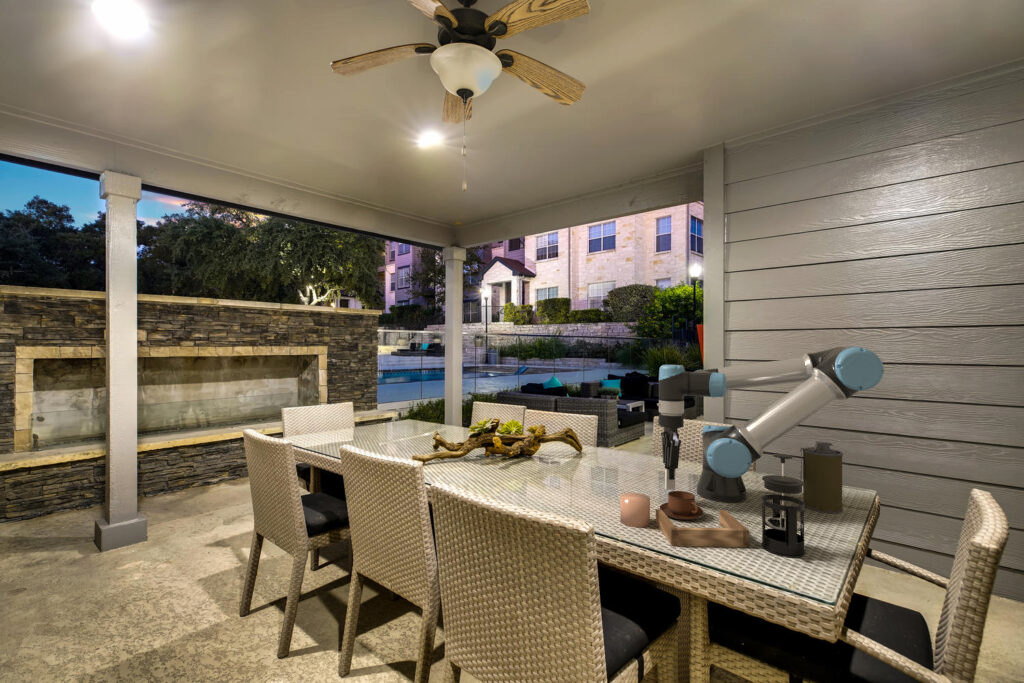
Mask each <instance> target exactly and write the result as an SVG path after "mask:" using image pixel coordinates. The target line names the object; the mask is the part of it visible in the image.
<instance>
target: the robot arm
mask: <svg viewBox="0 0 1024 683" xmlns="http://www.w3.org/2000/svg"><path fill="white" fill-rule="evenodd" d="M884 371H885V368H884V363H883V361H882V359H881V357H880V356H879V355H878V354H876V353H875V352H874V351H873V350H870V349H868V348H865V347H862V346H850V347H847V346H839V347H834V348H829V349H825V350H820V351H817V352H811V353H804V354H803V355H802V357H798V358H797V357H796V358H788V359H781V360H773V361H765V362H756V363H750V364H749V363H748V364H742V365H734V366H733V365H732V366H731V365H730V366H724V367H717V368H708V369H697V370H695V371H693V372H692V371H686V370H685V367H684V366H683V365H681V364H680V365H679V364H662V365H661V366H660V367H659V371H658V403H656V405H657V407H658V413H659V414H658V426H660V427H662V428H663V431H662V432H661V433H660V436H661V446H662V463H663V464H664V471H665V472H664V489H665V490H668V491H669V490H670V491H671V490H672V491H676V469H679V461H680V452H681V451H680V450H681V445H682V444H681V443H682V440H681V439H680V434H679V431H678V430H679V429H681V428H683V427H684V422H685V421H684V420H685V419H684V418H685V417H684V415H683V414H684V413H685V397H689V396H693V397H707V398H708V397H709V398H723V397H725V396H726V393H727V391H729V390H738V389H739V390H740V389H749V388H759V387H766V386H767V387H768V386H769V387H770V386H774V385H775V386H778V385H786V384H796V383H800V384H799V385H797V386H796V387H795V388H793V389H792V390H790V391H789V392H788V393H786V394H784V395H783V396H782V397H780V398H779V399H777V400H776V401H775V402H773V403H771V405H769V406H767V407H766V408H765V409H763V410H762V411H760V412H759V413H757V414H756V415H755V416H754V417H751V418H750V419H749V420H747V421H746V422H745V423H743V424H736V423H734V424H733V425H731V426H730V425H715V424H713V425H712V424H711V425H708V424H706V425H704V426H702V432H701V435H702V468H701V469H702V470H701V474H700V476H699V478H698V481H697V485H696V493H697V495H698V496H699V497H702V498H705V499H707V500H711V501H716V502H722V503H740V502H745V501H746V500H747V496H748V494H747V489H746V486H745V482H744V480H743V477H742V476H743V475H745V474H746V473H748V471H749V470H750V468H751V465H752V464H753V463H754V462H756V461H757V460H759V459H761V458H762V457H763V453H764V452H763V451H764V449H765V448H767V447H768V446H770V445H771V444H773V443H774V442H775V441H777V440H778V439H780V438H781V437H783V436H784V435H786V434H787V433H788V432H790V431H792V430H793V429H794V428H796V427H798V426H799V425H800V424H802V423H804V422H806V420H808V419H809V418H811V417H812V416H814V415H815V414H817V413H819V412H820V411H821V410H824V408H826V407H827V406H828V405H830V404H832V403H833V402H834V401H844V402H845V401H846V400H848V399H850V398H851V397H853V396H854V395H856V394H857V393H859V392H863V391H866V390H867V391H868V390H870V389H873V388H874V387H876V386H877V385H878V384H879V383H881V381H882V379H883V377H884Z"/></svg>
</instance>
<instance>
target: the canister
mask: <svg viewBox="0 0 1024 683" xmlns="http://www.w3.org/2000/svg"><path fill="white" fill-rule="evenodd" d="M832 446H834V444H833V443H831V442H830V441H829V442H828V441H820V440H818V441H817V440H816V441H815V443H814V446H813V447H811V446H810V447H800V451H802V454H803V455H802V458H803V459H802V461H803V462H802V472H800V480H802V481H803V482H804V485H803V486H802V496H803V497H802V501H803V502H804V508H806V509H809V510H811V511H813V512H814V511H815V512H818V513H825V514H841V513H843V512H844V509H843V456H844V453H843V452H842V451H839V450H837V449H832V448H831V447H832ZM802 473H803V474H802ZM802 475H803V476H802Z"/></svg>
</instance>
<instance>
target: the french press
mask: <svg viewBox="0 0 1024 683" xmlns="http://www.w3.org/2000/svg"><path fill="white" fill-rule="evenodd" d="M772 457H774V458H778V459H780V464H781V475H779V474H778V475H777V474H769V475H767V474H766V475H763V476H762V477H761V480H762V481H764V482H763V483H764V484H763V487H764V489H766V490H769V491H770V492H775V493H777V494H773V493H772V494H765V495H763V496H761V497H762V498H761V499H762V500H761V502H762V504H761V506H762V507H761V510H762V512H761V518H762V519H761V525H762V526H761V530H762V532H761V533H762V534H761V536H762V537H761V540H762V541H761V543H760V545H761V548H762V549H763V550H764V551H766V552H768V553H770V554H772V555H776V556H779V557H784V558H792V559H795V558H796V559H797V558H798V559H799V558H802V557H804V556H806V549H805V507H804V502H803V499H799V498H796V497H793V496H789V495H799V494H801V493H802V494H803V485H804V482H803V479H802V480H801V479H799V478H796V477H792V476H787V475H786V476H785V474H784V473H785V472H784V470H785V469H784V465H785V464H786V460H791V459H793V456H791V455H789V454H786V453H785V454H783V453H774V454H773V455H772ZM778 493H779V494H778ZM785 494H786V495H785ZM770 500H771V501H772V502H770ZM785 502H789V503H792V504H796V505H785V504H784V503H785ZM766 508H769V509H772V516H768V517H767V516H766ZM798 512H799V514H800V518H799V519H800V522H799V521H798ZM784 513H785V514H784ZM784 515H785V517H784ZM766 526H767V527H768V528H766ZM798 532H800V533H798Z"/></svg>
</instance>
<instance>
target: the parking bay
mask: <svg viewBox="0 0 1024 683" xmlns="http://www.w3.org/2000/svg"><path fill="white" fill-rule="evenodd" d="M718 513H719V520H718V521H719V526H720V527H692V526H691V527H684V526H683V527H682V526H681V527H677V526H675V524H674V523H673V522H672V521H671V519H670V518H669V516H667V515H665V513H664V512H663V511H662V510H661V509H660V508H656V509H655V524H656V526H657V528H658V529H659V531H660V532H661V533H662V535H663V536H664V538H665V539H666V541H667V542H668V543H669V544H670V545H671V547H672V546H675V547H677V546H678V547H681V546H682V547H723V548H724V547H725V548H726V547H729V548H731V547H733V548H735V547H737V548H750V530H749V529H748V528H747V527H746V526H744V525H743V524H742V523H741V522H740V521H738V520H737V519H736V518H735V517H734V516H732V515H731V514H730V513H729V512H728V511H727V510H726V509H725V510H724V509H719V512H718Z"/></svg>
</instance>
